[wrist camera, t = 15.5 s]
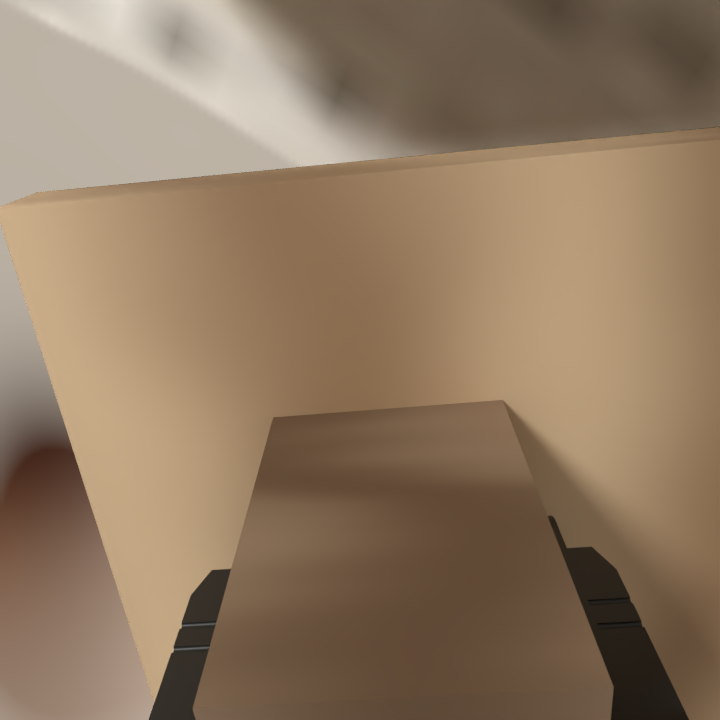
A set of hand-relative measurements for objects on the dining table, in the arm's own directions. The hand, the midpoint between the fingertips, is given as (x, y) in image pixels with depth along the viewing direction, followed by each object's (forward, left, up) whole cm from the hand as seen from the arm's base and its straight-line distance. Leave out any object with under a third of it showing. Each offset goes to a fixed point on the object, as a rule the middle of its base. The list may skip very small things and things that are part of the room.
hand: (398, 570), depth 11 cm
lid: (+5, 0, -2) cm, 5 cm away
